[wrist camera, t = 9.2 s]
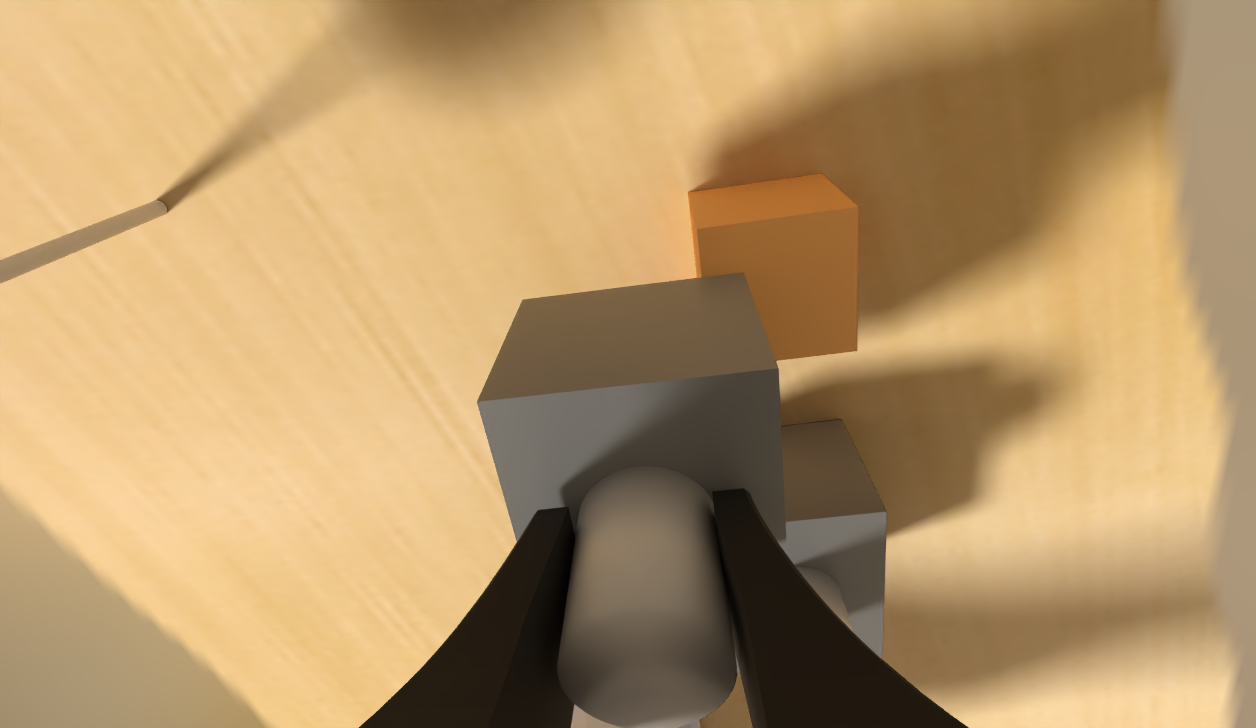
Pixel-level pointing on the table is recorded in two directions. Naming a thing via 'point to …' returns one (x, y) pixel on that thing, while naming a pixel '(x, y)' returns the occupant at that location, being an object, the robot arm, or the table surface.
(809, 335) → the cube
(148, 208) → the lollipop
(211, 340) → the table surface
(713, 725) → the table surface
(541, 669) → the robot arm
